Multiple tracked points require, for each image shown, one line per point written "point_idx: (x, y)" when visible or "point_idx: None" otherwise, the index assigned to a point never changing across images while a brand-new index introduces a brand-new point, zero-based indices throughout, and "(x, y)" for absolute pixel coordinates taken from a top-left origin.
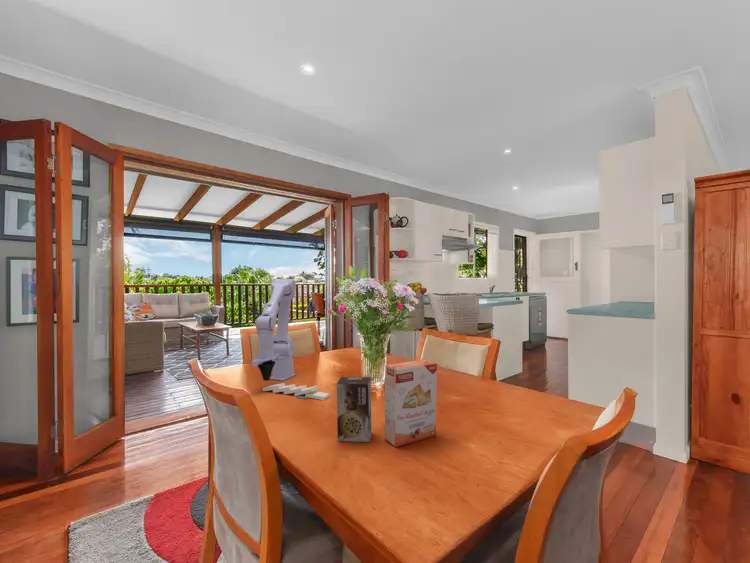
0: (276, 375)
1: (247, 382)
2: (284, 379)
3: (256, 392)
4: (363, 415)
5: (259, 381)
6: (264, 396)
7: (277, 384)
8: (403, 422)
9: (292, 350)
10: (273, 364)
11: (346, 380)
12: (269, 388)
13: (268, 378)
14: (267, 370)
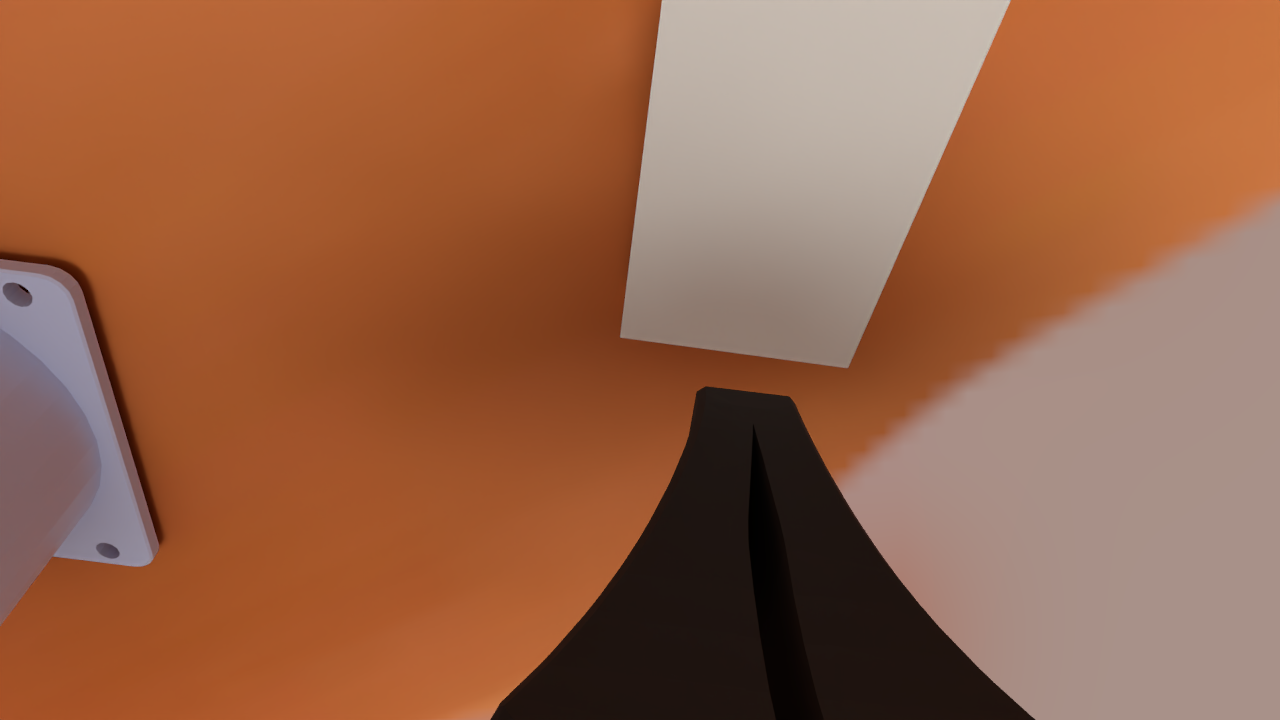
0: (55, 474)
1: (462, 705)
2: (14, 264)
3: (918, 394)
4: None
5: (340, 602)
6: (1192, 119)
7: (723, 94)
8: None
9: None
10: (638, 713)
11: None
12: (914, 194)
13: (773, 418)
14: (937, 625)
